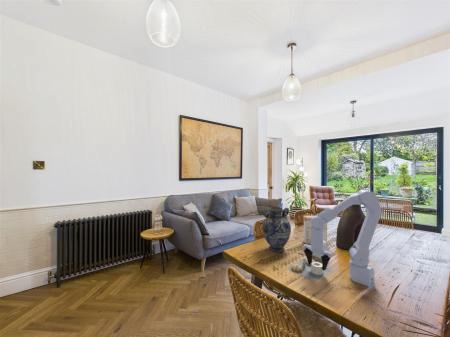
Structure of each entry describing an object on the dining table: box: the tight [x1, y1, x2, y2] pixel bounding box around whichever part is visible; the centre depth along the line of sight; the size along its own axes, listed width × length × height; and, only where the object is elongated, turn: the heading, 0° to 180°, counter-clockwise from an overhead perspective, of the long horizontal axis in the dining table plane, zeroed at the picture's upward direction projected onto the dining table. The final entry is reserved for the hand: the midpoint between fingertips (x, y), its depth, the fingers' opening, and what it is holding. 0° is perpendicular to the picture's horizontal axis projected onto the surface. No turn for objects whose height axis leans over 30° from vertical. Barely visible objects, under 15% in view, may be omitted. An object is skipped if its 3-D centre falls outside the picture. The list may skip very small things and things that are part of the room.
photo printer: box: [312, 240, 329, 260], centre depth 123 cm, size 10×4×12 cm, turn 25°
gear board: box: [286, 257, 334, 282], centre depth 107 cm, size 16×18×6 cm
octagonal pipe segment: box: [311, 261, 323, 275], centre depth 104 cm, size 5×5×4 cm
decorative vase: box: [262, 206, 292, 253], centre depth 139 cm, size 21×19×28 cm
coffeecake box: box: [303, 215, 328, 245], centre depth 151 cm, size 15×7×20 cm, turn 80°
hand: (316, 266), depth 104 cm, fingers open, 7 cm apart
